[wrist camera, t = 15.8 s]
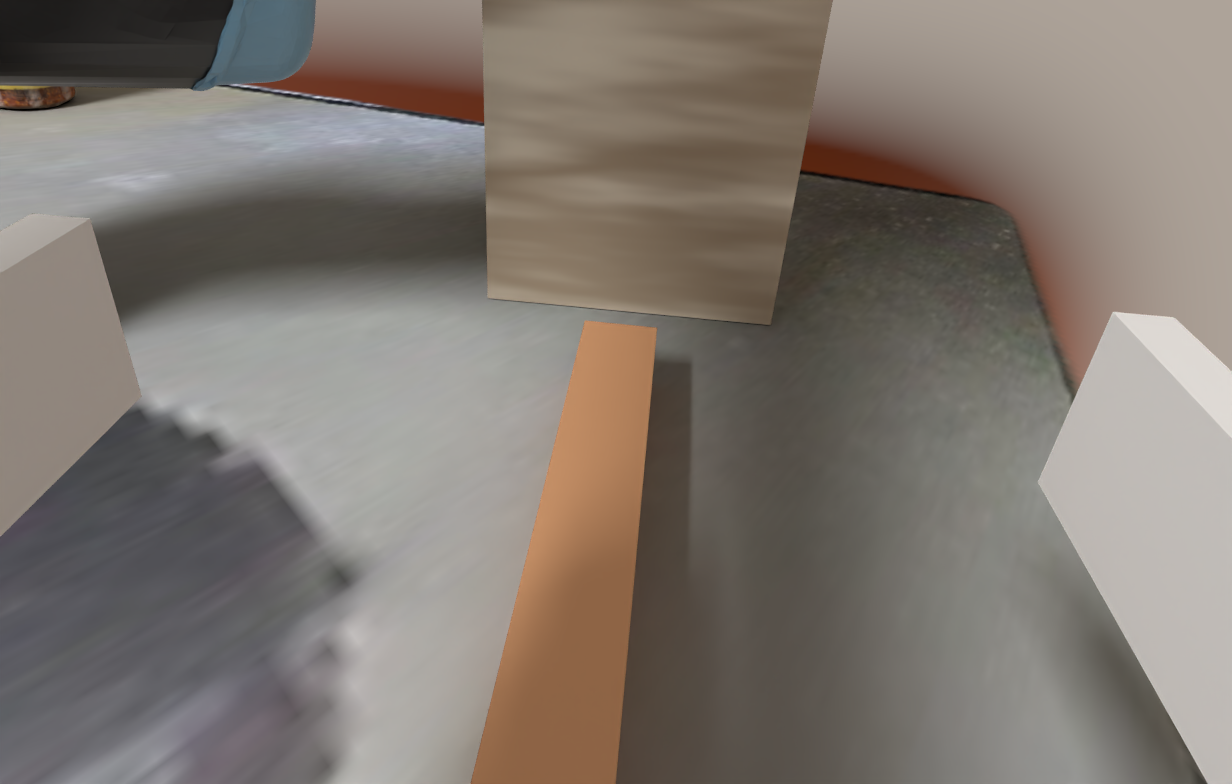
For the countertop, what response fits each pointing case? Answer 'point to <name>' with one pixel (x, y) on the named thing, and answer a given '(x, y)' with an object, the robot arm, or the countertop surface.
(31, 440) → the robot arm
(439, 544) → the countertop surface
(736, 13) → the grey-brown tall block
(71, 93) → the sauce bottle
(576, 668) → the orange bar
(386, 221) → the countertop surface
